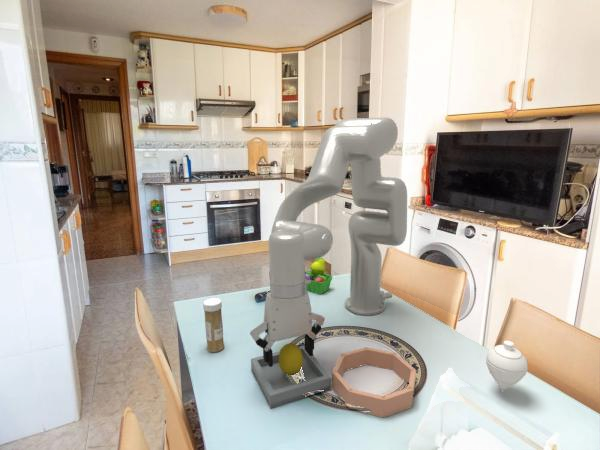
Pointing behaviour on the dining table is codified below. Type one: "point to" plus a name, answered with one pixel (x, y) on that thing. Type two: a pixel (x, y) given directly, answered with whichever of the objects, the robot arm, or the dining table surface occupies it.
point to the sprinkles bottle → (213, 324)
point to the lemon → (290, 359)
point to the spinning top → (506, 365)
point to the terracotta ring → (374, 402)
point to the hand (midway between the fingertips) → (289, 358)
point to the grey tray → (280, 387)
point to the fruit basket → (318, 277)
